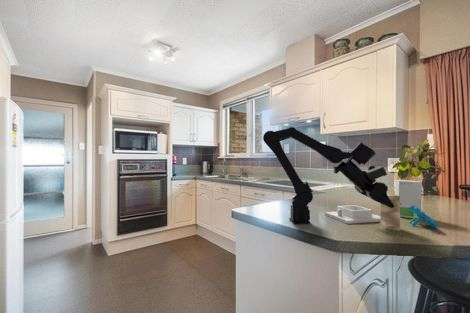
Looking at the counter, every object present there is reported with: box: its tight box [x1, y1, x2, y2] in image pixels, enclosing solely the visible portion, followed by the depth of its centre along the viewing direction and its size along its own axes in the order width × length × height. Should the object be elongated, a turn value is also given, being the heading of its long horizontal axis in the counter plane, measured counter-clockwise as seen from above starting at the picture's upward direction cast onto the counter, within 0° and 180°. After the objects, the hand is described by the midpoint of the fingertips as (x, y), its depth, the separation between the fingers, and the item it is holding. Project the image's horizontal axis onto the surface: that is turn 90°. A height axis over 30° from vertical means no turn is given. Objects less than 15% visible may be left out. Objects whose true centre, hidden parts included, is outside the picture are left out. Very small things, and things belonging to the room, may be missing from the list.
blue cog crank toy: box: [408, 205, 439, 229], centre depth 85 cm, size 11×6×10 cm
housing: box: [324, 204, 381, 225], centre depth 96 cm, size 18×14×4 cm
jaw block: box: [380, 193, 401, 231], centre depth 82 cm, size 4×4×12 cm
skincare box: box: [394, 179, 422, 219], centre depth 99 cm, size 8×7×16 cm
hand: (387, 204), depth 82 cm, fingers open, 9 cm apart
